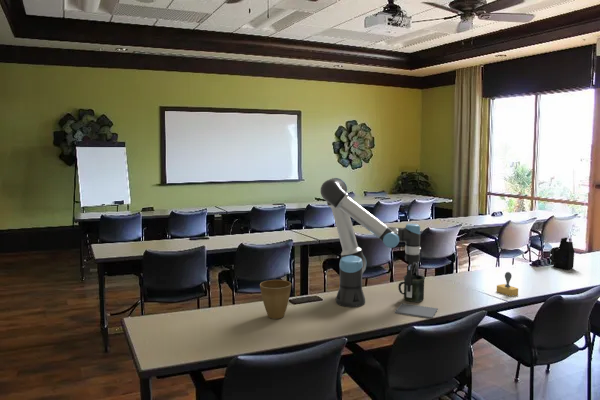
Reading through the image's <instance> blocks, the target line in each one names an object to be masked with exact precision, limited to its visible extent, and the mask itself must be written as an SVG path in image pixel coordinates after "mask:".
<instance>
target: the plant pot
mask: <svg viewBox="0 0 600 400" xmlns="http://www.w3.org/2000/svg"><path fill="white" fill-rule="evenodd" d="M259 289H260V294H261V299H262V301H263V302H262V303H263V307H264V309H265V312H266V313H267V317H268V318H270V319H272V320H273V319H274V320H276V319H282V318H284V316H285V313H286V311H287V309H288V304H289V300H290V295H291V290H292V283H291V281H287V280H283V279H271V280H264V281H261V282H260V284H259Z"/></svg>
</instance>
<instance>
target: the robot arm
mask: <svg viewBox="0 0 600 400" xmlns="http://www.w3.org/2000/svg"><path fill="white" fill-rule="evenodd" d="M320 195H321V198H322V199H323V200H324V201H326V204H327V206H328V207H329V208H330V209H331V211H332V215H333V219H334V223H335V226H336V231H337V234H338V238H339V241H340V245H341V249H342V251H341V253H340V256H341V258H340V260H339V284H338V285H339V287H338V290H337V293H336V297H335V303H336V304H337V305H339V306H342V307H349V308H350V307H351V308H353V307H354V308H355V307H356V308H358V307H362V306H363V305H365V304H366V297H365V294H364V290H363V274H364V272H365V271H366V269H367V265H368V264H367V258H366V256H365V255H364V253H363V249H362V248H361V247H360V246H359V245H358V242H357V237H356V233H355V230H354V226H353V222H352V219H353V220H354V221H355V222H356V223H358V224H359V225H360V226H362V227H363V228H364V229H366V230H367V231H368V232H370V233H371V234H372V235H374V236H375V237H376V238H377V239H378V240H380V241H381V242H382V243H383V244H384V246H385V247H387V248H388V249H393V248H395V247H397V246H398V245H399V243H405V248H404V249H405V250H404V252H405V255H404V260H405V261H406V262H407V263H408V264H407V265H406V284H405V285H407V294H406V297H409V298H412V279H413V275H414V276H417V275H419V268H418V266H419V265H418V264H419V263H418V262H420V260H421V254H420V253H421V250H422V247H421V226H420V225H419V224H418V223H407V224H405V226H404V227H392V226H387V224H385V223H384V222H383V221H381V219H379V218H378V217H376V216H375V215H374V214H372V213H370V212H369V211H368V210H367V209H365V208H364V207H363V206H361V205H360V204H359V203H358V202H356V201H355V200H354V199H352V198H351V197H350V196H349V193H348V185H347V183H346V181H344V180H343V179H341V178H338V177H332V178H330V179H327V180H325V181H324V182H323V183H322V185H321V186H320ZM351 218H352V219H351Z"/></svg>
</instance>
